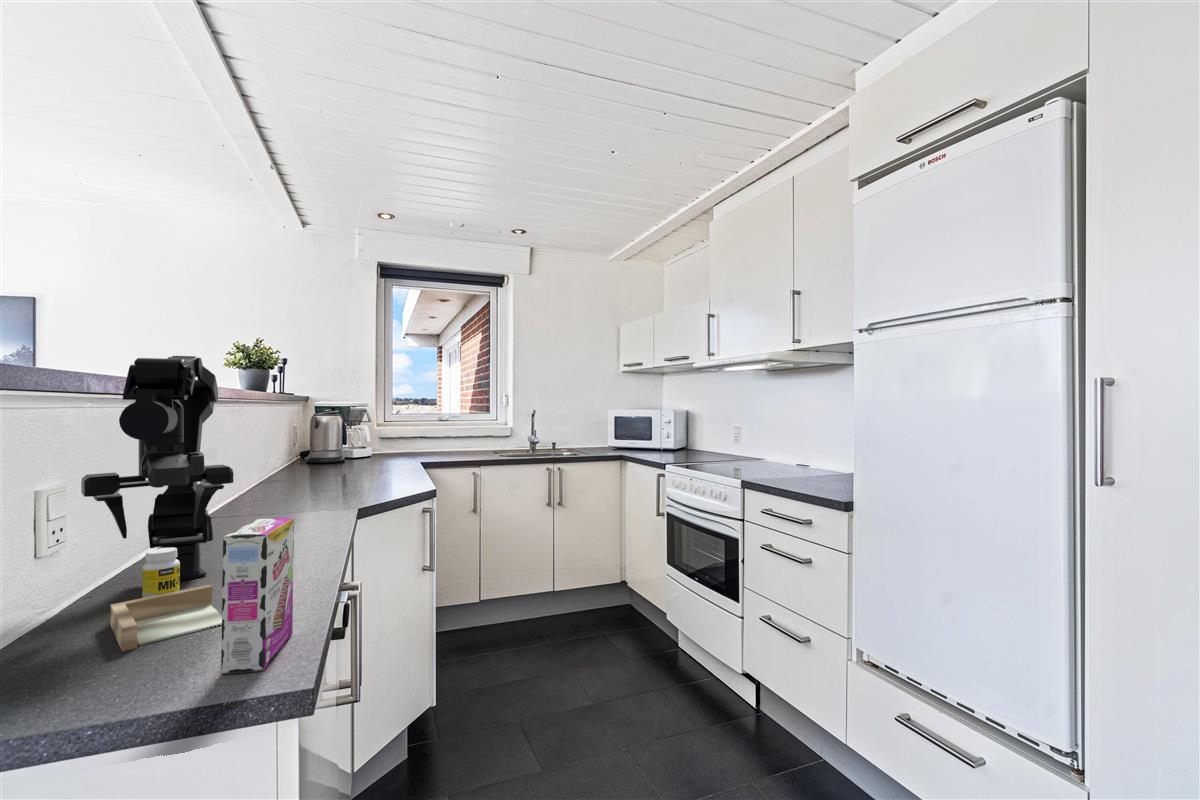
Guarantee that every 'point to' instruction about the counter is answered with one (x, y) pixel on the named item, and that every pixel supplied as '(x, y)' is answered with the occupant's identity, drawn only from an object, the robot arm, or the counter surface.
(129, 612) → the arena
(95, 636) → the counter surface
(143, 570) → the supplement bottle
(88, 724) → the counter surface
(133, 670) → the counter surface
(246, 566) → the candy bar box
